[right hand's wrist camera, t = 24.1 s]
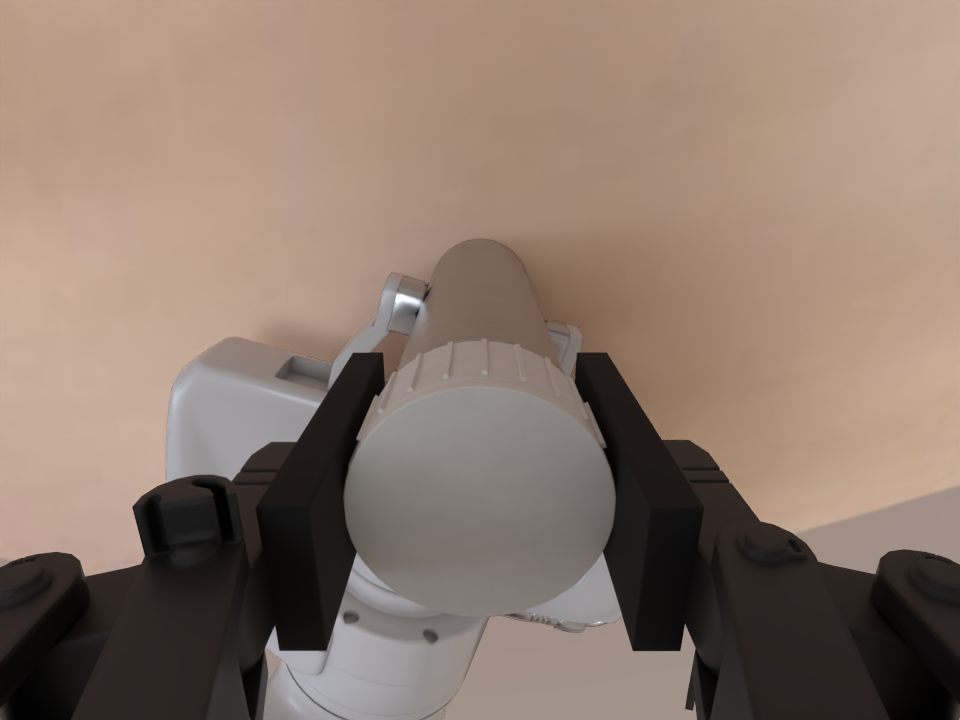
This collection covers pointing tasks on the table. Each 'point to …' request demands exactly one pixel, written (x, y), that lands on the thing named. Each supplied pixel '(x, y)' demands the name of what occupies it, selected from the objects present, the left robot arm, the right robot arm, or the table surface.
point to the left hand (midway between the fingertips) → (485, 302)
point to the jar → (479, 303)
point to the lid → (479, 481)
